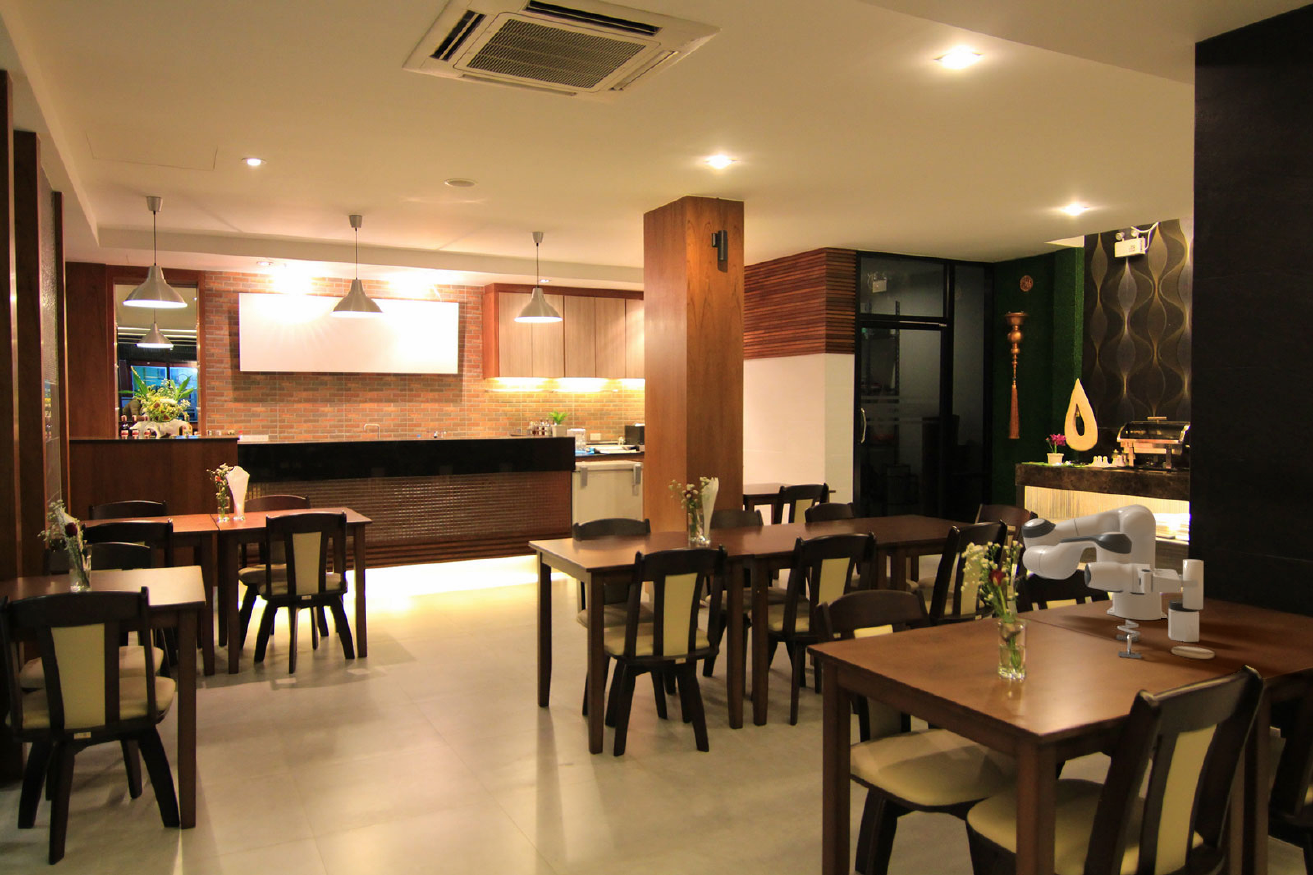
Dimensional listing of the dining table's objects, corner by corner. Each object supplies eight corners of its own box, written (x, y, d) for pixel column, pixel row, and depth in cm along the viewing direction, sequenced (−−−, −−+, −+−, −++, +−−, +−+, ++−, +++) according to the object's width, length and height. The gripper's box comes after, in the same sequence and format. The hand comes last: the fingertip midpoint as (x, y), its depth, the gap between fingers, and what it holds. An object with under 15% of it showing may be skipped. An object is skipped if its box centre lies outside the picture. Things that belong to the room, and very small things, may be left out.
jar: (1179, 642, 282) (1179, 604, 281) (1161, 636, 290) (1161, 599, 289) (1205, 641, 283) (1206, 603, 282) (1187, 635, 291) (1187, 598, 291)
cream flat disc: (1170, 647, 276) (1170, 644, 276) (1212, 651, 271) (1212, 648, 271) (1172, 656, 266) (1172, 653, 266) (1216, 660, 261) (1216, 657, 261)
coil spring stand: (1116, 637, 289) (1116, 617, 289) (1137, 639, 286) (1137, 619, 286) (1118, 656, 266) (1118, 635, 266) (1141, 659, 264) (1141, 637, 264)
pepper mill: (1182, 605, 272) (1182, 558, 272) (1202, 606, 270) (1202, 560, 269) (1183, 608, 267) (1183, 561, 267) (1203, 610, 265) (1204, 562, 265)
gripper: (1142, 582, 283) (1193, 586, 277) (1145, 594, 265) (1199, 598, 259) (1142, 562, 283) (1193, 565, 277) (1145, 573, 265) (1200, 576, 259)
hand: (1196, 581), depth 268 cm, fingers closed on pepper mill, 5 cm apart
